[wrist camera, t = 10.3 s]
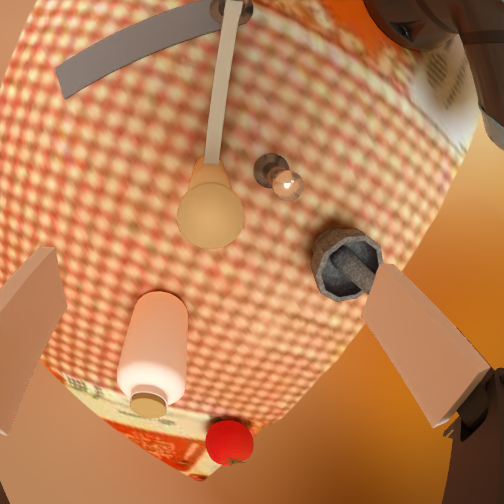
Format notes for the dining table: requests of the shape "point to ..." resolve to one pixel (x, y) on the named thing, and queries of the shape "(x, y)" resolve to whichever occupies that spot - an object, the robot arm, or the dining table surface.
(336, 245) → the mortar and pestle
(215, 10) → the brown knob post
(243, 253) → the dining table surface
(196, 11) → the strip
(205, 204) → the slotted fence panel
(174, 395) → the potion bottle
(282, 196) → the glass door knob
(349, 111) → the dining table surface
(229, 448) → the tomato
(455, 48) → the dining table surface
